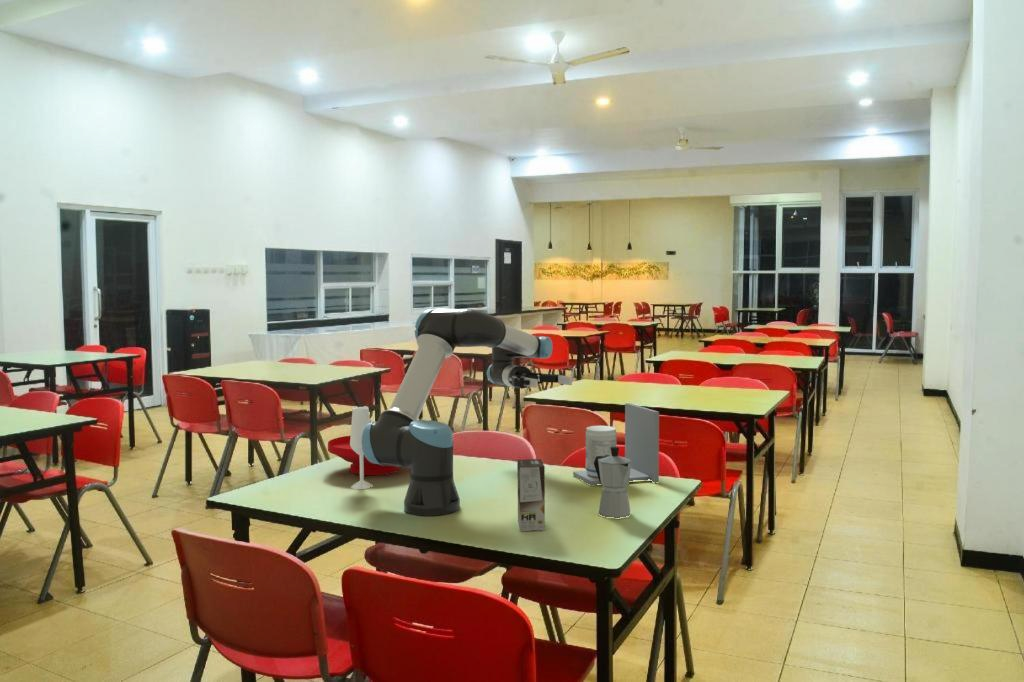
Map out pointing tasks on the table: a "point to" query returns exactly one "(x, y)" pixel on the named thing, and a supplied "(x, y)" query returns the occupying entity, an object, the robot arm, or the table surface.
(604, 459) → the coffee maker
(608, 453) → the supplement tub
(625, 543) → the table surface
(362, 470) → the champagne flute
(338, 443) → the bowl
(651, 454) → the socket stand
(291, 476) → the table surface
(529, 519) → the coffee box
